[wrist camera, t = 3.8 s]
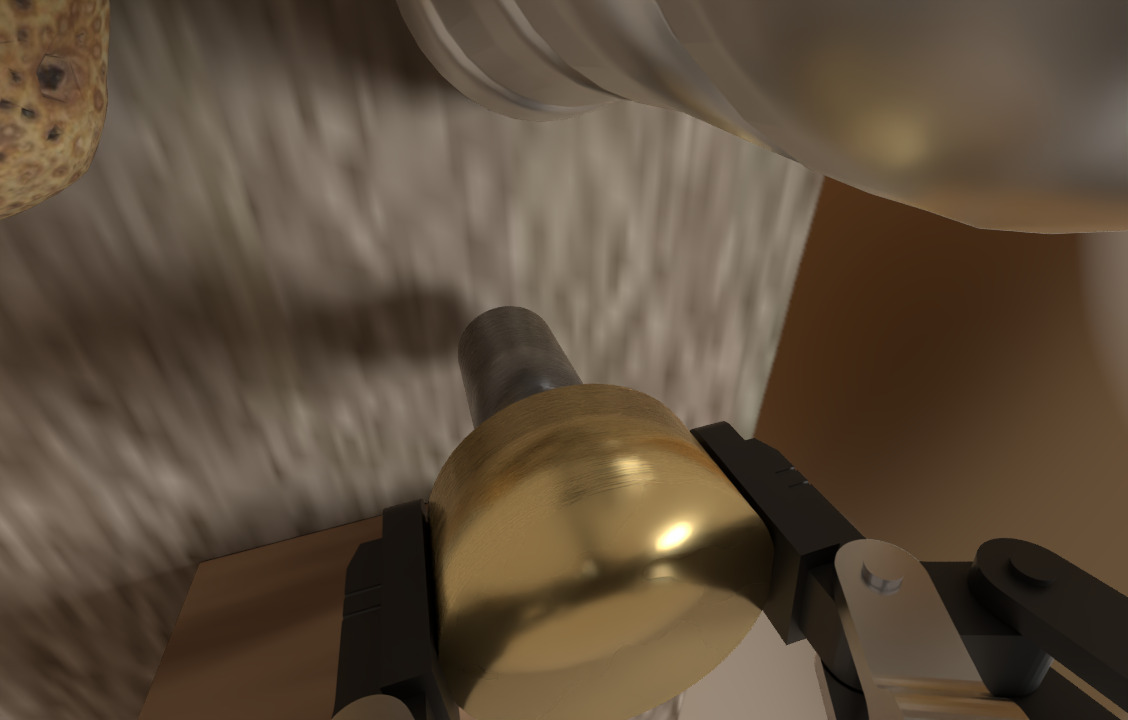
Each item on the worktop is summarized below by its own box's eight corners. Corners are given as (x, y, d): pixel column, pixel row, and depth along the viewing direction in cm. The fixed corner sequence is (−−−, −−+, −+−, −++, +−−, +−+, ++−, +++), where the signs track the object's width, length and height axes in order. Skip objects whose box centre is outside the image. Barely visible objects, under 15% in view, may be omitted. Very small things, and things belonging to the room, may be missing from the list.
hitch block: (199, 562, 20) (98, 817, 13) (522, 478, 22) (580, 659, 15) (314, 753, 26) (286, 992, 19) (557, 672, 29) (609, 862, 22)
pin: (391, 285, 15) (395, 551, 7) (585, 247, 16) (791, 440, 8) (435, 445, 18) (476, 774, 10) (598, 405, 19) (762, 670, 11)
